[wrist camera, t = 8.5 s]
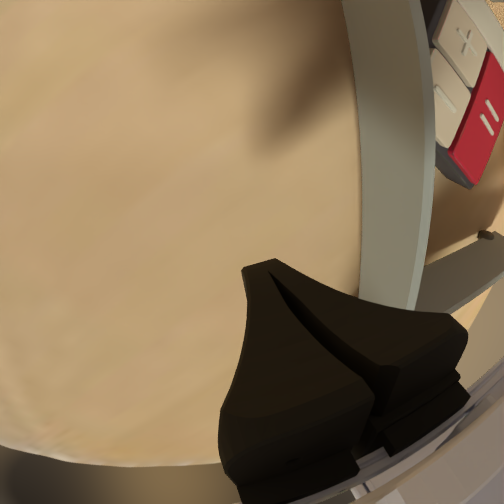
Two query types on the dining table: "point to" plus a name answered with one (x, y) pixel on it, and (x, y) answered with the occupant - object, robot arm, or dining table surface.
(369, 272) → the grey u-shaped barrier
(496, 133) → the calculator
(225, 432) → the robot arm
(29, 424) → the dining table surface
